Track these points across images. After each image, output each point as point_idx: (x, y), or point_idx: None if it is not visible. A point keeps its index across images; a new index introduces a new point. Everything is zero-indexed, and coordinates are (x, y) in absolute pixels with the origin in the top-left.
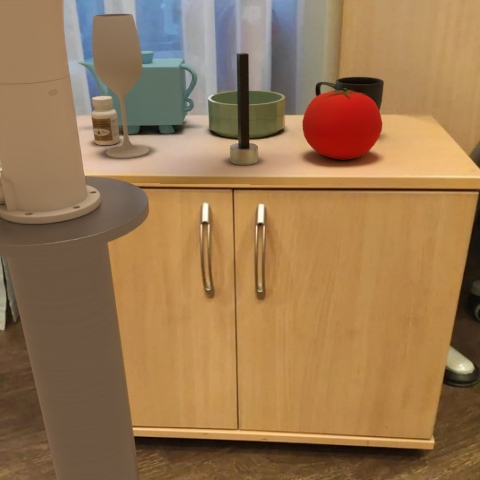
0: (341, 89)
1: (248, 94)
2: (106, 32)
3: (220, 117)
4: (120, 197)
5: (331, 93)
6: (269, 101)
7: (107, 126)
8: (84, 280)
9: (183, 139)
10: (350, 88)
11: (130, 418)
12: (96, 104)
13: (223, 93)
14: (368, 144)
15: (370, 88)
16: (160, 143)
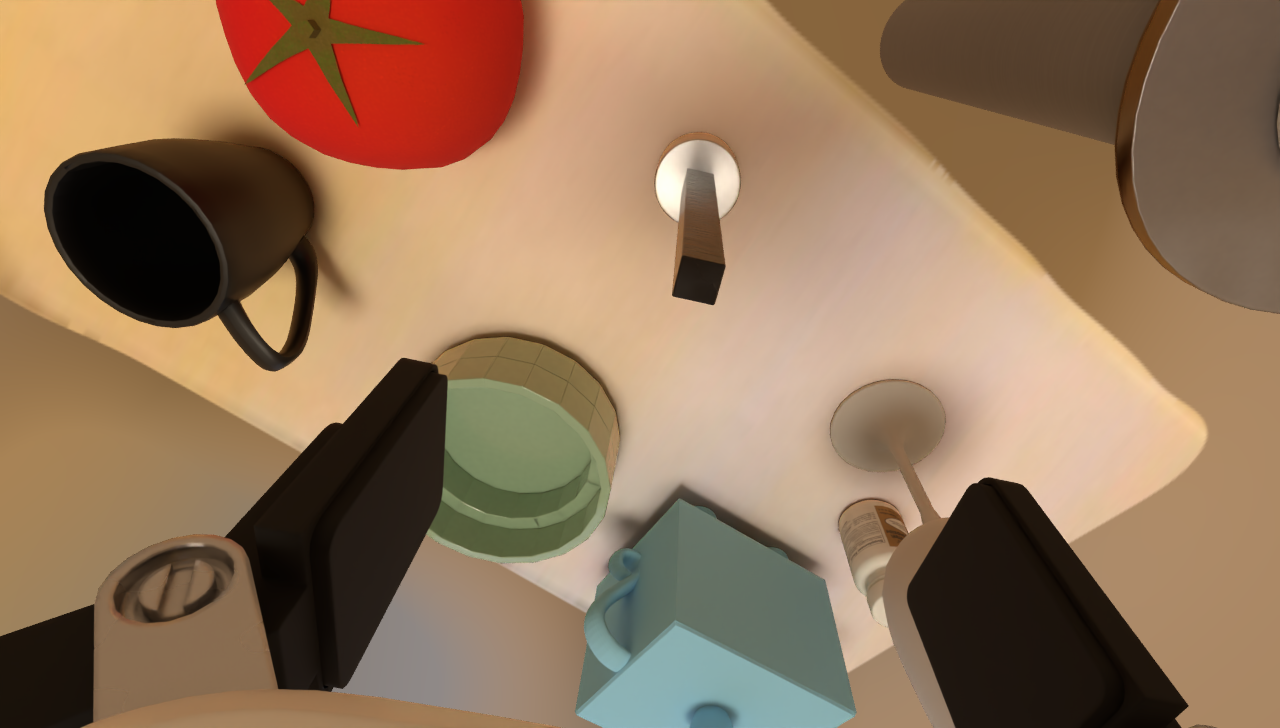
0: (238, 240)
1: (687, 207)
2: None
3: (609, 434)
4: (1263, 3)
5: (366, 66)
6: None
7: (894, 532)
8: None
9: (704, 444)
10: (210, 203)
11: (993, 6)
12: None
13: (521, 555)
14: None
15: (136, 152)
16: (772, 447)
